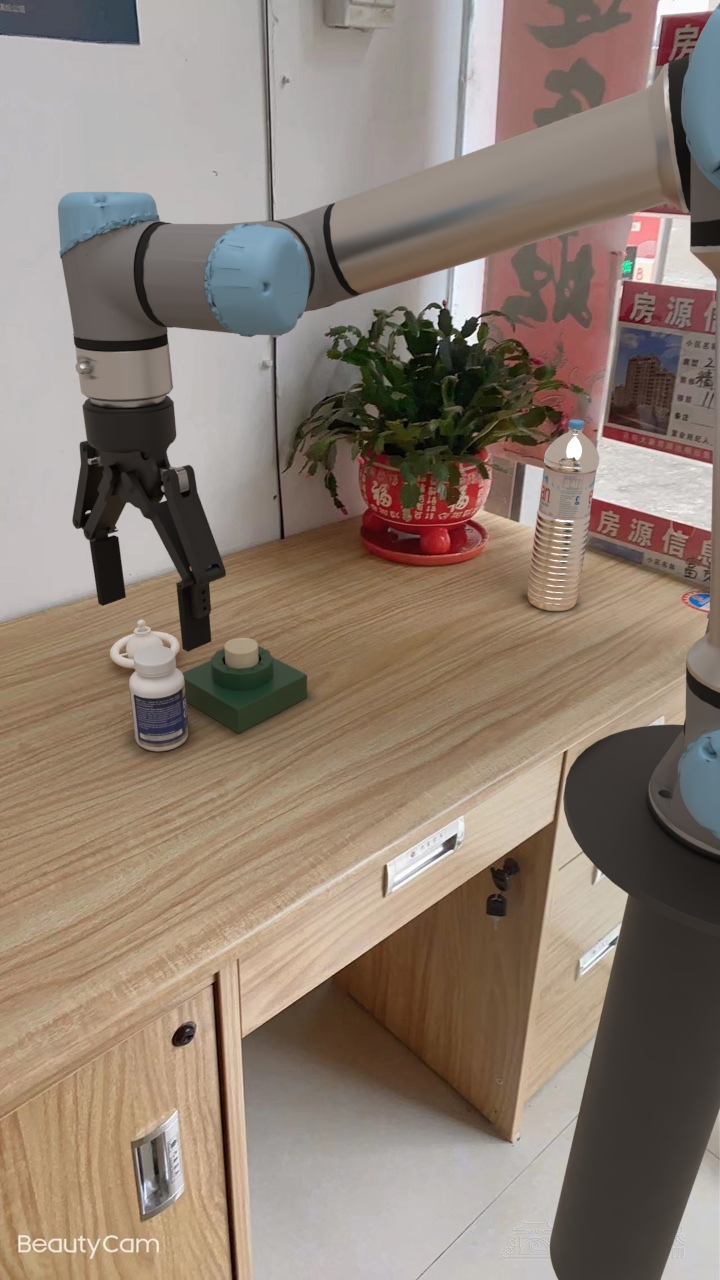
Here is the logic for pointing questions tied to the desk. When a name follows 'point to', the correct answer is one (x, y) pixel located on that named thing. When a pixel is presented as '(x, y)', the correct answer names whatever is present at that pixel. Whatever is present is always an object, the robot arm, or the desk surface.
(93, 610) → the desk surface
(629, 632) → the desk surface
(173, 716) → the pill bottle
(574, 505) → the water bottle
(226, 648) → the cream cylindrical peg
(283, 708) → the green square peg base
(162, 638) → the ring around a ball
